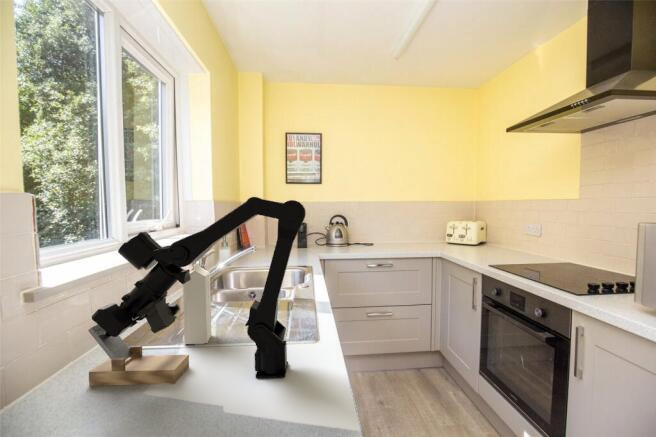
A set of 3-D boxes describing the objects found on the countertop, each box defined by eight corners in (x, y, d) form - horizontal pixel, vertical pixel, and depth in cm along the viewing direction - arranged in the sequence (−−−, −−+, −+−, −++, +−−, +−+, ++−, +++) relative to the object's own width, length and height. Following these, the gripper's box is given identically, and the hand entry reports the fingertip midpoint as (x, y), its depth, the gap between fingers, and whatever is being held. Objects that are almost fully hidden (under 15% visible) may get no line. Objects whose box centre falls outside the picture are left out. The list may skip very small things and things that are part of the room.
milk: (211, 335, 92) (210, 261, 91) (206, 344, 86) (205, 264, 85) (189, 337, 91) (188, 262, 90) (183, 345, 85) (182, 265, 84)
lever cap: (133, 354, 71) (106, 320, 71) (120, 363, 67) (91, 327, 66) (127, 358, 71) (100, 324, 71) (113, 369, 67) (84, 332, 66)
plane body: (189, 367, 73) (188, 344, 73) (174, 383, 66) (174, 358, 66) (111, 368, 72) (111, 346, 72) (89, 385, 65) (88, 360, 65)
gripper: (163, 324, 60) (108, 382, 60) (199, 295, 78) (157, 340, 79) (118, 285, 59) (63, 345, 59) (165, 266, 78) (123, 311, 78)
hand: (108, 335), depth 69 cm, fingers closed, pressing on lever cap
